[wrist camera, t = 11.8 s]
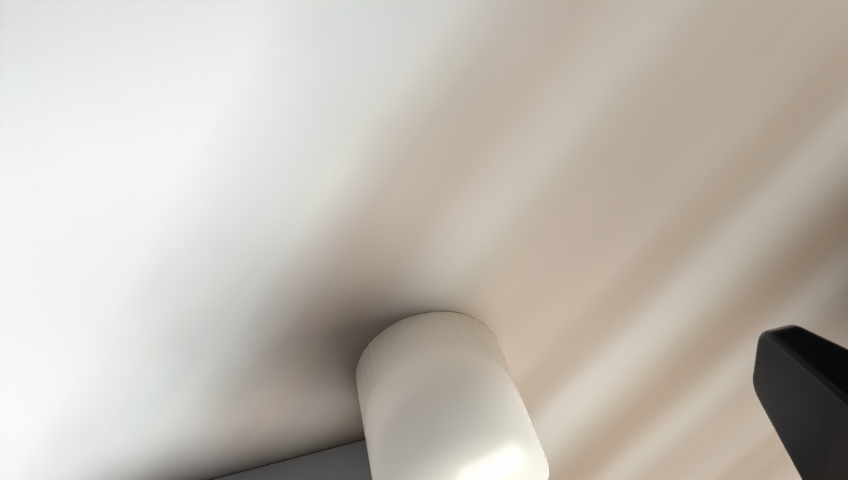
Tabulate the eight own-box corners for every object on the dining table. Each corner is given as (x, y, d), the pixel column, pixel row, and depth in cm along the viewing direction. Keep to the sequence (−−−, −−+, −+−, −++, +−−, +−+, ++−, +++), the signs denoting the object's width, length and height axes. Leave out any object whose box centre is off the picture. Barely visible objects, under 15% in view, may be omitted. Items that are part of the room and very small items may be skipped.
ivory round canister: (493, 295, 24) (543, 409, 20) (507, 400, 27) (553, 519, 23) (340, 333, 23) (360, 457, 19) (371, 435, 26) (394, 563, 22)
